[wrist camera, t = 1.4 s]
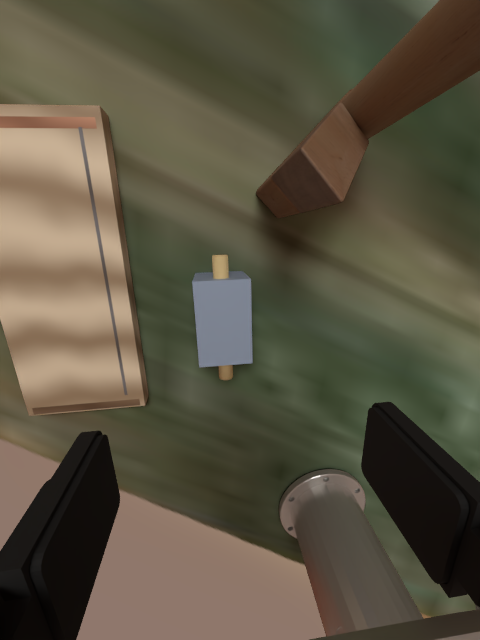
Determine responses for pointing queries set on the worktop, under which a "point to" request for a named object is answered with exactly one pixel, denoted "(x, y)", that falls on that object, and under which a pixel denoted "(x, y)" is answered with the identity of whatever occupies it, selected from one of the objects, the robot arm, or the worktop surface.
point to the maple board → (66, 262)
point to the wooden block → (377, 108)
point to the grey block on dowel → (223, 317)
